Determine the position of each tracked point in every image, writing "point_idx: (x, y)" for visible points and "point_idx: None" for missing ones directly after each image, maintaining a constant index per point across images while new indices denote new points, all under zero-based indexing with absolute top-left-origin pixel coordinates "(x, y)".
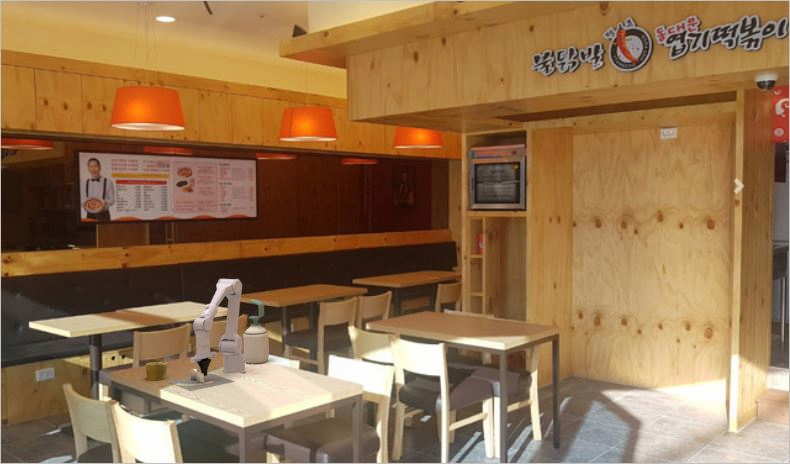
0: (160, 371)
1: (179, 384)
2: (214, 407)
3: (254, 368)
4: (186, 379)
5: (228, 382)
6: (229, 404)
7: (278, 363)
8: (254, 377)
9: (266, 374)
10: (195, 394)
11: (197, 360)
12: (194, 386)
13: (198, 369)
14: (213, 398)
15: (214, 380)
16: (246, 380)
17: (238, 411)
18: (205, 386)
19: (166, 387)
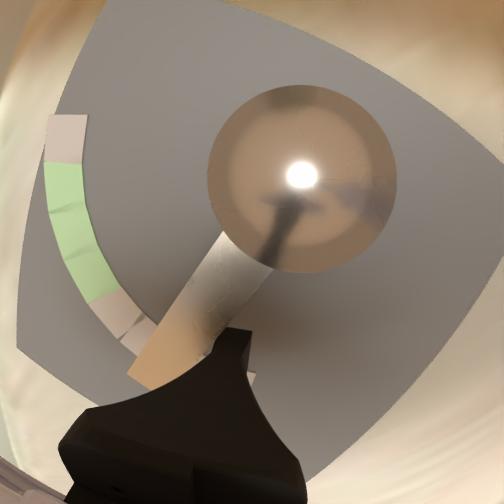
0: None
1: (61, 160)
2: (16, 459)
3: None
4: (256, 68)
5: None
6: (55, 488)
7: None
8: (448, 473)
9: (493, 471)
10: (30, 371)
11: (7, 484)
12: (77, 322)
13: (285, 259)
14: (52, 450)
15: (298, 383)
16: (385, 481)
17: None
18: (116, 394)
19: (48, 66)
